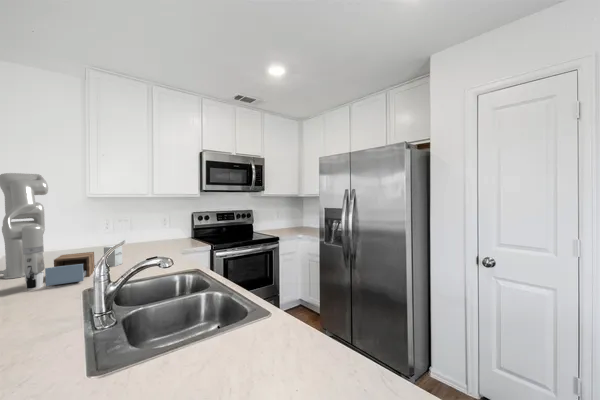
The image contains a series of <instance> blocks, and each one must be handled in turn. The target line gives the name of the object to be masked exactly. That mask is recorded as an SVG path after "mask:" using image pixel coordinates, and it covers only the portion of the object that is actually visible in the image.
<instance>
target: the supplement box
mask: <svg viewBox="0 0 600 400" xmlns="http://www.w3.org/2000/svg"><path fill="white" fill-rule="evenodd" d="M115 245H116V244H115ZM115 245H107V246H105V247H103V255H104V254H105V253H106V252H107V251H108V250H109V249H110V248H112V247H113V246H115ZM107 264H108V265H109V266H110V267H112V268H114V267H117V266H121V265H122V264H123V245H122V246H120V247H118V248H116V249H115V250H114V251H113V252H112V253H111V254H110V255H109V256H108V258H107Z"/></svg>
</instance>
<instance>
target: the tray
mask: <svg viewBox="0 0 600 400" xmlns="http://www.w3.org/2000/svg"><path fill="white" fill-rule="evenodd" d="M44 271H45V272H44V275H45V286H46V287H48V286H55V285H62V284H63V285H64V284H70V283H71V284H72V283H76V282H83V281H84V278H86V277H85V276H86V274H87V272H86V270H85V271H83V264H77V265H68V266H59V267H54V266H53V267H52V266H51V267H45V269H44Z"/></svg>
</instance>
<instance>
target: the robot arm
mask: <svg viewBox="0 0 600 400" xmlns="http://www.w3.org/2000/svg"><path fill="white" fill-rule="evenodd" d="M0 189H1V191H2V192H3V196H4V212H5V213H4V214H5V215H4V217H3V220H2V226H1V232H2V237H3V240H4V241H3V242H4V251H5V252H4V253H5V269H3V270H0V275H2V276H1V278H2V279H4V280H6V279H7V280H8V279H9V280H10V279H17V278H25V276H24V275H26V281H25V284H26V283H27V287H26V290H30V289H29V288H35V287H36V279H35V274H38V273H40V272H43V271H45V268H46V267H45V257H44V234H45V230H46V229H45V227H46V226H45V221H46V220H45V209H44V208H45V207H44V205H43V204H42V203H41V202H37V201H36V198H35V196H44V195H45V196H46V195H47V194H48V193H49V185H48V183H47V181H46V180H45V178H44V176H42V175H41V174H37V173H21V172H20V173H19V172H7V173H1V174H0ZM25 219H32V220H25ZM12 220H17V221H12ZM30 273H31V274H30ZM32 275H33V277H32Z"/></svg>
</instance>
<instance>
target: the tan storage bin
mask: <svg viewBox="0 0 600 400" xmlns="http://www.w3.org/2000/svg"><path fill="white" fill-rule="evenodd" d="M77 264H83V271H85V270H86V272H87V274H86V276H85V277H84V278H89V277H90V276H91V275H92V274H93V273H94V272H95V271H94V268H95V252H94V251H89V252H79V253H70V254H68V253H67V254H61V255H59V256H58V257H56V258H54V259H53V267H59V266H68V265H77ZM93 271H94V272H93Z"/></svg>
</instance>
